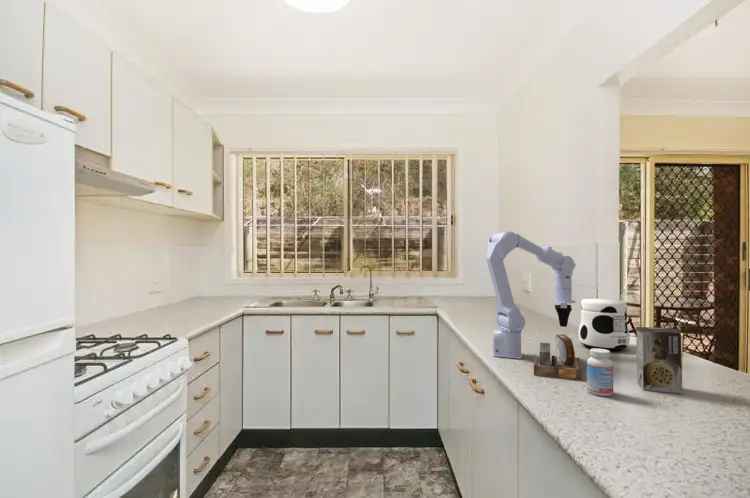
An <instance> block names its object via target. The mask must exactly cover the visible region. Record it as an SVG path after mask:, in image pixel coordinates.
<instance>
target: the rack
mask: <svg viewBox="0 0 750 498" xmlns="http://www.w3.org/2000/svg"><path fill="white" fill-rule="evenodd" d="M538 358H539V359H538ZM538 360H539V364H538ZM560 366H561V367H560ZM533 376H539V377H545V378H546V377H547V378H555V379H566V380H577V381H581V380H580V379H581V373H580V357H575V359H574V364H565V363H558V356H556V355H553V354H552V355H551V343H549V342H539V357H538V355H535V356H534V361H533Z"/></svg>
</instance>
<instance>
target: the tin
mask: <svg viewBox="0 0 750 498" xmlns="http://www.w3.org/2000/svg"><path fill="white" fill-rule="evenodd" d="M555 342H556V347H555V349H556V353H557V354H556V355H557V358H559V359H560V360H561V362H562V363H563V364H566V365H574V359H575V358H576V356H575V355H576V354H575V353H576V352H575V348H574V343H573V340H572V339H571V338H570V337H569V336H568V335H567V334H565V333H563V334H556V335H555Z"/></svg>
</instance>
